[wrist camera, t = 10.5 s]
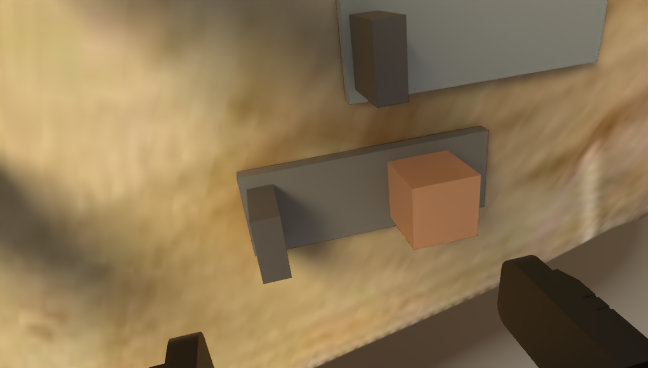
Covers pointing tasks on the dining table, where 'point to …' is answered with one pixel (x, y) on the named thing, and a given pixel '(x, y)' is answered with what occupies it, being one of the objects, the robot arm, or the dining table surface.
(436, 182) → the block
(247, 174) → the strip
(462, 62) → the empty strip
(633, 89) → the dining table surface
